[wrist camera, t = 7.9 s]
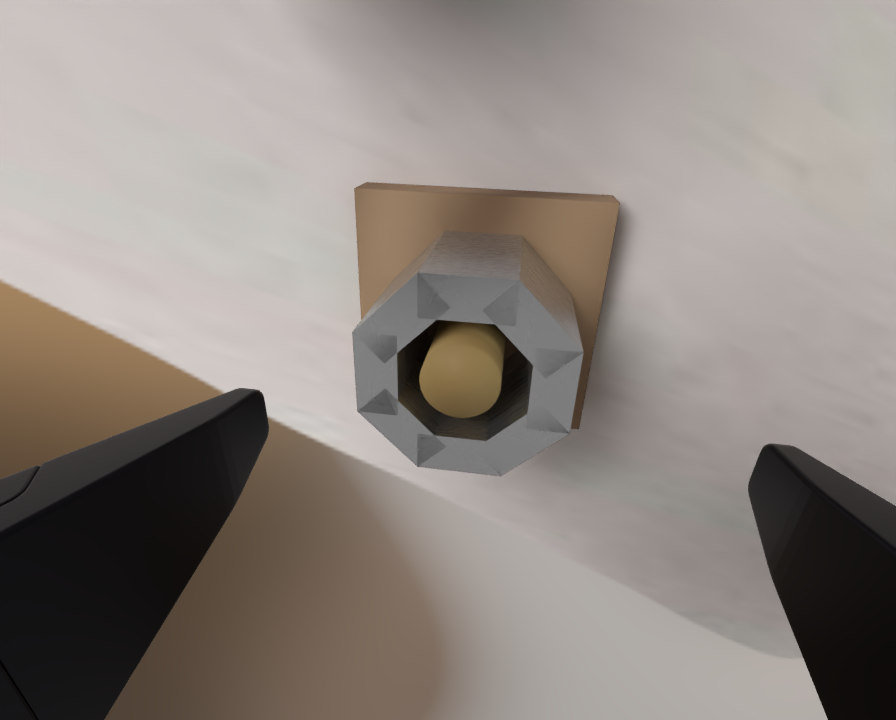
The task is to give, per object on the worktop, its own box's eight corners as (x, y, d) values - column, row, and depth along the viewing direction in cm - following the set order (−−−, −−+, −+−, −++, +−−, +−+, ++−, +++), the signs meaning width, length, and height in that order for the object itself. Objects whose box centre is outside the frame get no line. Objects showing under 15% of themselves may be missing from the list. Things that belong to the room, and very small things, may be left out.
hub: (578, 238, 17) (594, 285, 13) (554, 400, 20) (561, 483, 16) (392, 227, 18) (348, 267, 14) (396, 384, 21) (360, 460, 17)
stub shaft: (613, 195, 18) (652, 239, 12) (575, 409, 22) (592, 517, 16) (366, 182, 19) (295, 217, 13) (375, 389, 23) (324, 484, 17)
